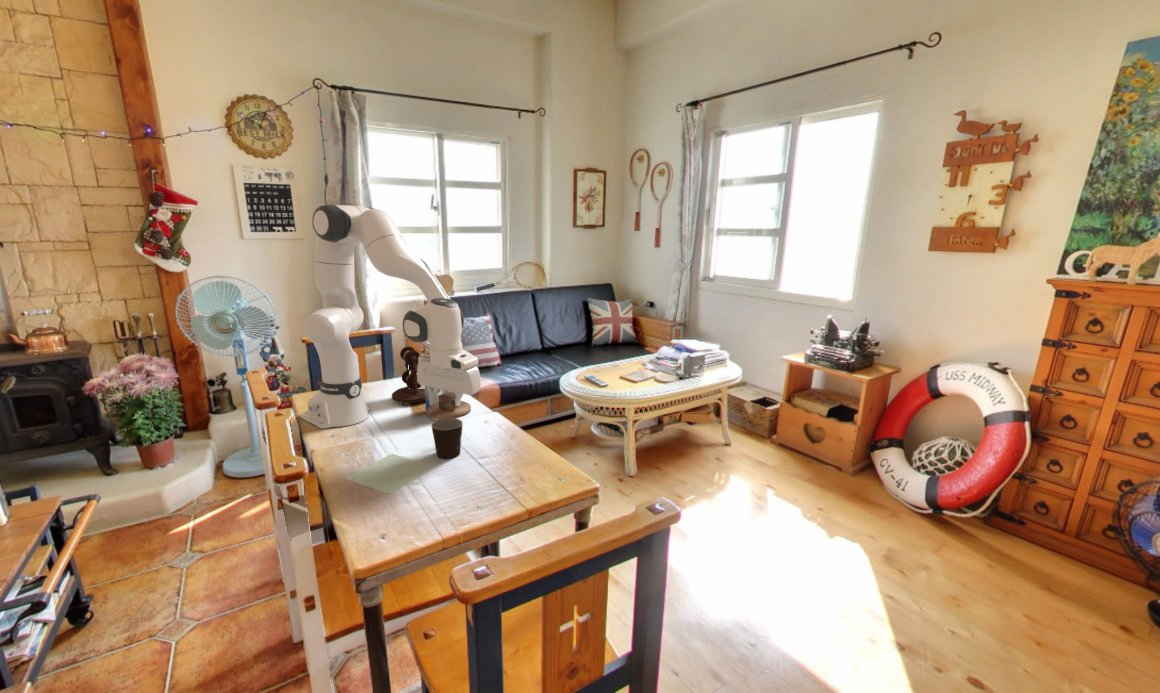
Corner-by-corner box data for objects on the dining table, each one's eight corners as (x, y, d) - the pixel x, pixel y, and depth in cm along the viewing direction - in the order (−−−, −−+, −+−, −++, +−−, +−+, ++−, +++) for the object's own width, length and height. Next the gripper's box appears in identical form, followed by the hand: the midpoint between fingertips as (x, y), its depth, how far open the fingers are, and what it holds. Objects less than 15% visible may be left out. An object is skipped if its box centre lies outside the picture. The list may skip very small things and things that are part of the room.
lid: (418, 414, 136) (417, 397, 134) (446, 401, 146) (445, 385, 145) (452, 422, 131) (451, 405, 130) (479, 407, 141) (478, 391, 140)
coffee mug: (455, 464, 135) (454, 431, 133) (427, 460, 137) (425, 428, 135) (472, 446, 146) (471, 415, 144) (446, 443, 148) (445, 412, 146)
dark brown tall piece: (438, 401, 182) (435, 350, 177) (397, 409, 174) (393, 355, 169) (427, 390, 194) (424, 342, 189) (388, 396, 186) (384, 346, 181)
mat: (344, 480, 126) (344, 478, 126) (392, 455, 140) (391, 453, 140) (389, 496, 119) (389, 494, 119) (434, 468, 133) (434, 466, 133)
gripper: (410, 354, 136) (413, 401, 139) (468, 365, 128) (470, 413, 131) (426, 349, 142) (428, 394, 145) (483, 359, 133) (484, 406, 137)
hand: (449, 403), depth 138 cm, fingers closed on lid, 4 cm apart
